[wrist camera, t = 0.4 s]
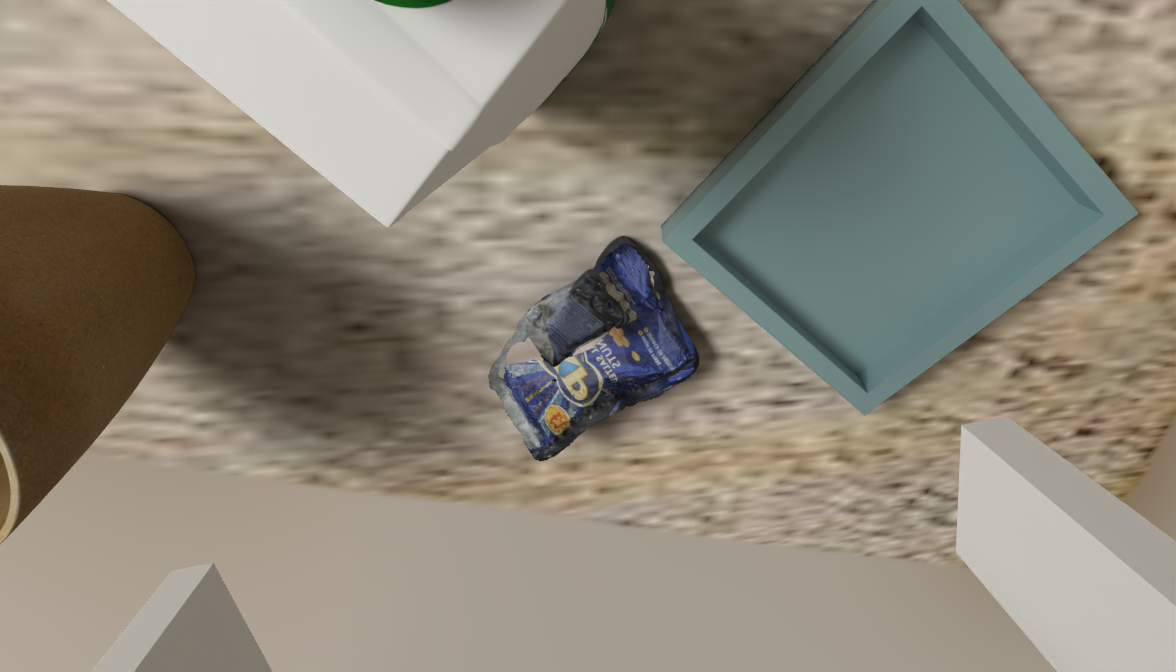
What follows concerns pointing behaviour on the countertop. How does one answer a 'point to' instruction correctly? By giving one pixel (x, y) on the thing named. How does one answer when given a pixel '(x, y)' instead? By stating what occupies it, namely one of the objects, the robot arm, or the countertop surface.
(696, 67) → the countertop surface
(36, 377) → the plant pot
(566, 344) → the snack package
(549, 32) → the milk carton
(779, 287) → the tray
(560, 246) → the countertop surface
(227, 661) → the robot arm
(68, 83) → the countertop surface
